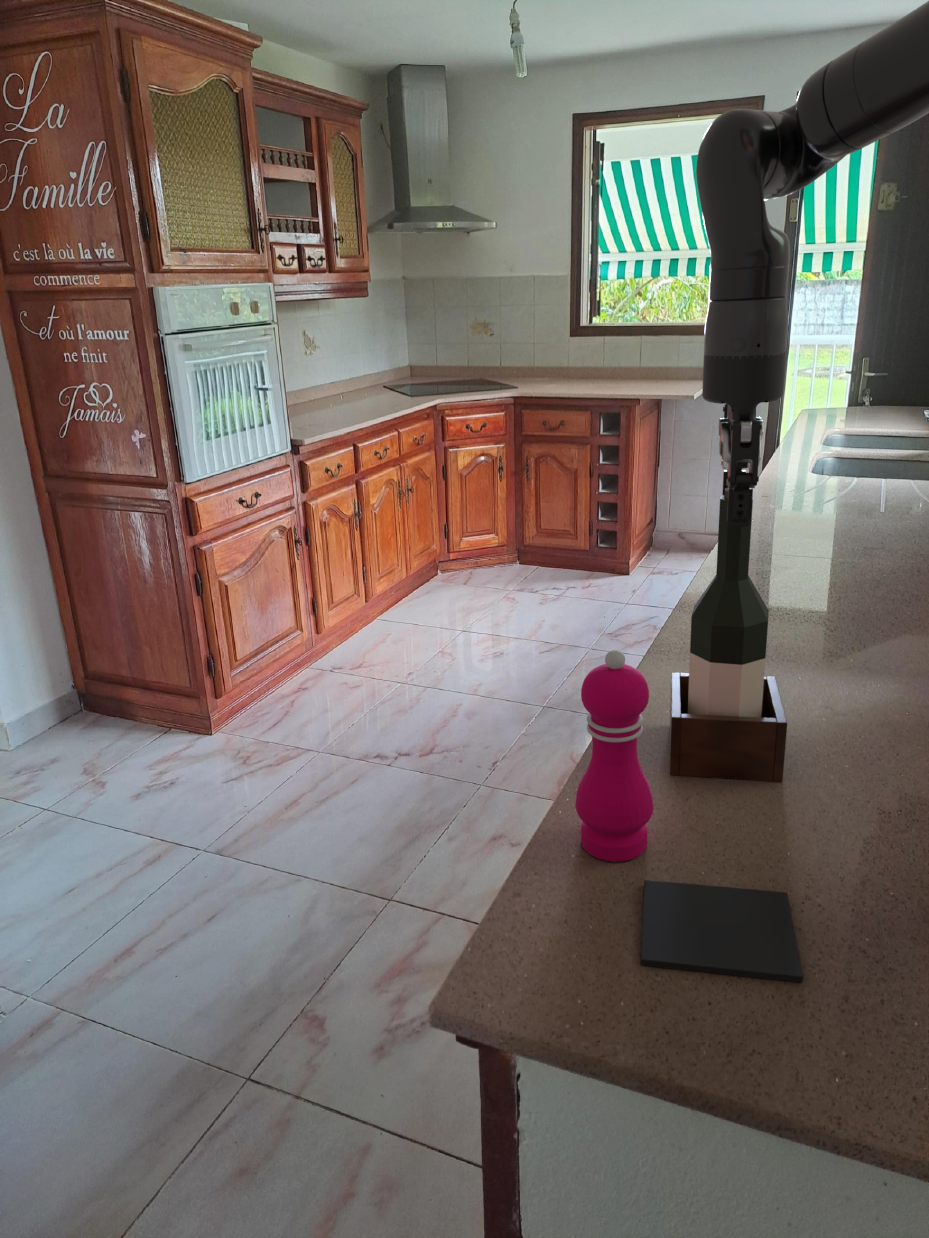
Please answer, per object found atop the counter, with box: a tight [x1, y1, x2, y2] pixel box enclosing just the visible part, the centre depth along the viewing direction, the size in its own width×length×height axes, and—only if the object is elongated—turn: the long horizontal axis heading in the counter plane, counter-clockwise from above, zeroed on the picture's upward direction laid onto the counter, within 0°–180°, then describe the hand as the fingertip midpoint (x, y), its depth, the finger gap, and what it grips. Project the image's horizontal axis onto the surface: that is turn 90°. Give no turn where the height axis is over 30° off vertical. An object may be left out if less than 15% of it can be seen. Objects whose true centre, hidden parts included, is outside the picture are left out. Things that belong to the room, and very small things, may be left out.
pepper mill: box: [575, 649, 654, 863], centre depth 81 cm, size 7×7×20 cm
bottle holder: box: [669, 672, 788, 783], centre depth 98 cm, size 12×12×7 cm
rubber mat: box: [640, 879, 804, 983], centre depth 72 cm, size 12×10×1 cm
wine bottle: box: [688, 488, 770, 718], centre depth 94 cm, size 8×8×30 cm
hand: (735, 515), depth 89 cm, fingers open, 8 cm apart
